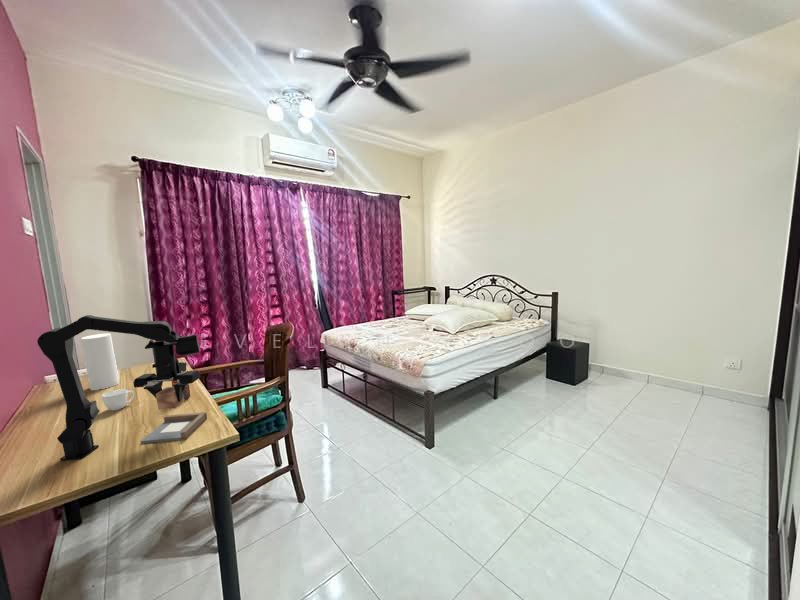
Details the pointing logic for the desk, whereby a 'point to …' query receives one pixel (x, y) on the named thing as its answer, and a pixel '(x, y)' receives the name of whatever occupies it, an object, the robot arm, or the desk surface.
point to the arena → (176, 427)
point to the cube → (168, 398)
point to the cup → (116, 399)
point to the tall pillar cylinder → (100, 361)
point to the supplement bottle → (186, 391)
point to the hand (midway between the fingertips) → (171, 402)
